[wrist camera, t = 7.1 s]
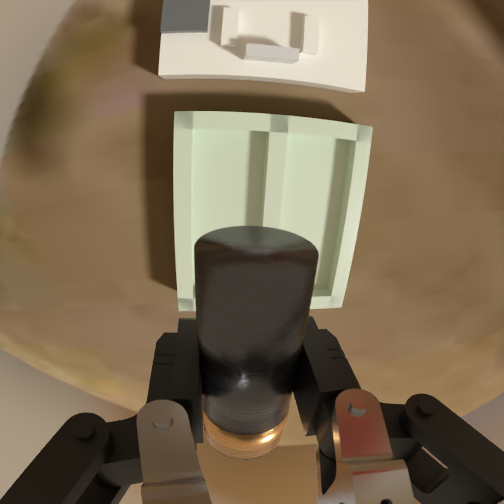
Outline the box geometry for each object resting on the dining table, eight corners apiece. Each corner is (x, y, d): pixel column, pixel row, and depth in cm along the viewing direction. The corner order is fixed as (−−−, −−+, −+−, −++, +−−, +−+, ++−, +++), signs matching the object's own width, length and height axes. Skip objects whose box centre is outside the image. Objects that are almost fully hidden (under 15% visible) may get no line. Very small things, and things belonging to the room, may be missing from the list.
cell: (278, 221, 10) (345, 264, 8) (259, 398, 14) (295, 448, 11) (179, 232, 9) (220, 289, 6) (193, 418, 12) (222, 476, 10)
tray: (357, 124, 23) (372, 127, 20) (331, 290, 29) (341, 307, 26) (178, 111, 21) (174, 111, 18) (181, 292, 27) (178, 310, 25)
